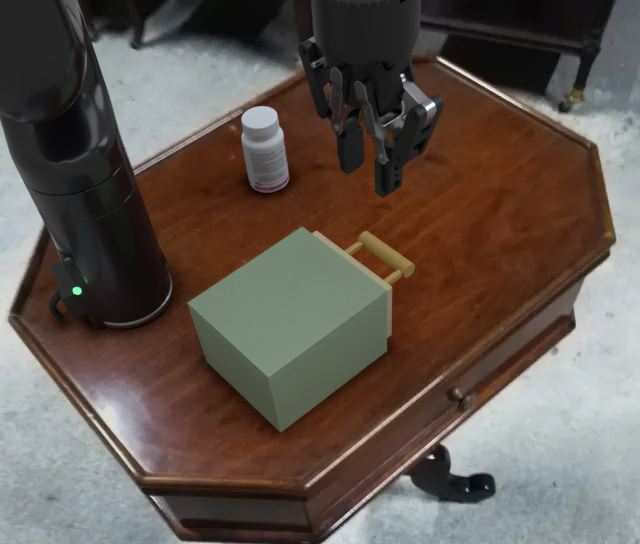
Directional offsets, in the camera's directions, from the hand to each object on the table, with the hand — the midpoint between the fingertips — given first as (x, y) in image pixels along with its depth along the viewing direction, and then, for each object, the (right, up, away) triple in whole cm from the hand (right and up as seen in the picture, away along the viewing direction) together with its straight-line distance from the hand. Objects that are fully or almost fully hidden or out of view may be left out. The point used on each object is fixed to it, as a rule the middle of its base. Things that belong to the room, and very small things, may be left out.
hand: (369, 179), depth 64 cm
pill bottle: (-10, +8, +24) cm, 27 cm away
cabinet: (-7, -14, +10) cm, 18 cm away
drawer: (-4, -11, +10) cm, 16 cm away
